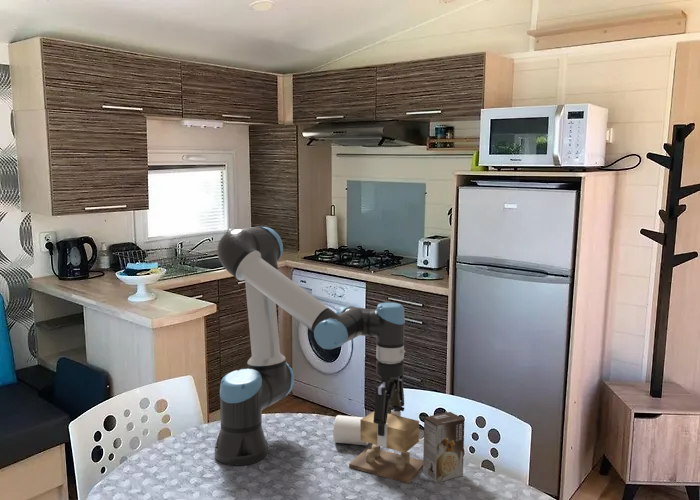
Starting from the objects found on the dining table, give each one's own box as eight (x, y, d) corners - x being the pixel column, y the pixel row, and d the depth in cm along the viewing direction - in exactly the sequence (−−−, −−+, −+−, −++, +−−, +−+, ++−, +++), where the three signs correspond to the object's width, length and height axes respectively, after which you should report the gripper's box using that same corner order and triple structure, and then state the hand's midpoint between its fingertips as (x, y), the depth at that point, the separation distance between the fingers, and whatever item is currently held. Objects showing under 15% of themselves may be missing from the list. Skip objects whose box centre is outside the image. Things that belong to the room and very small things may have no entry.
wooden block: (360, 440, 163) (360, 419, 162) (375, 430, 169) (375, 410, 168) (405, 452, 155) (405, 431, 154) (418, 441, 161) (418, 420, 161)
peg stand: (349, 467, 162) (349, 453, 161) (368, 449, 172) (368, 437, 172) (409, 483, 154) (410, 469, 153) (425, 464, 164) (426, 450, 164)
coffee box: (449, 465, 164) (451, 410, 162) (463, 476, 158) (465, 419, 156) (421, 472, 160) (423, 416, 158) (435, 483, 154) (437, 425, 152)
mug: (365, 450, 172) (366, 424, 171) (332, 446, 174) (333, 421, 173) (372, 433, 184) (373, 409, 183) (341, 430, 186) (341, 406, 185)
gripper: (386, 373, 148) (385, 458, 151) (417, 351, 167) (415, 428, 170) (360, 368, 152) (359, 451, 154) (393, 348, 170) (392, 423, 173)
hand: (389, 439), depth 162 cm, fingers closed on wooden block, 8 cm apart
